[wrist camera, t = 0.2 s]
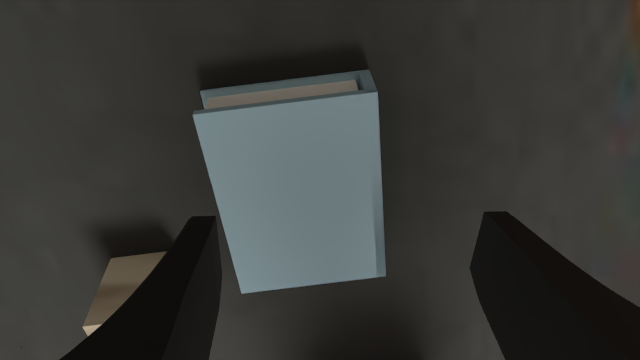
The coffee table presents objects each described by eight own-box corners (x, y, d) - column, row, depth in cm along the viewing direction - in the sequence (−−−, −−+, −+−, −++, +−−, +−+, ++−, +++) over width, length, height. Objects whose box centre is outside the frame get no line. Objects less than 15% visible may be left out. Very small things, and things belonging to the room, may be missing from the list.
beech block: (196, 297, 31) (183, 366, 27) (132, 304, 31) (109, 375, 27) (179, 249, 29) (162, 316, 25) (110, 257, 29) (82, 326, 25)
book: (377, 242, 30) (386, 276, 28) (244, 258, 30) (241, 293, 28) (368, 67, 24) (377, 91, 22) (201, 88, 24) (192, 114, 22)
